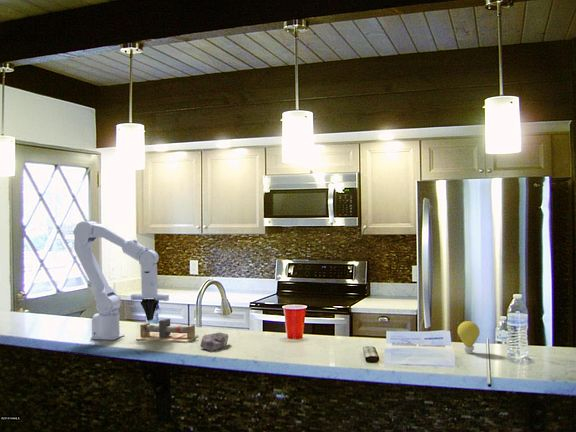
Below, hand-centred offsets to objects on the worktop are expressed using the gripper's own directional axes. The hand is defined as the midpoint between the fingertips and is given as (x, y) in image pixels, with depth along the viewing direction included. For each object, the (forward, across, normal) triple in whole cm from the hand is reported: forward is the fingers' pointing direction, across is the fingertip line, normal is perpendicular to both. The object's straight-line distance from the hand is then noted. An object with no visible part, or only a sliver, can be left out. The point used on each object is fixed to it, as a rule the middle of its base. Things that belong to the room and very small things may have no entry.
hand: (150, 320), depth 213 cm
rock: (+7, +29, -9) cm, 31 cm away
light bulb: (+7, +112, 0) cm, 112 cm away
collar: (+7, +6, 0) cm, 9 cm away
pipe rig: (+7, +7, 0) cm, 10 cm away
